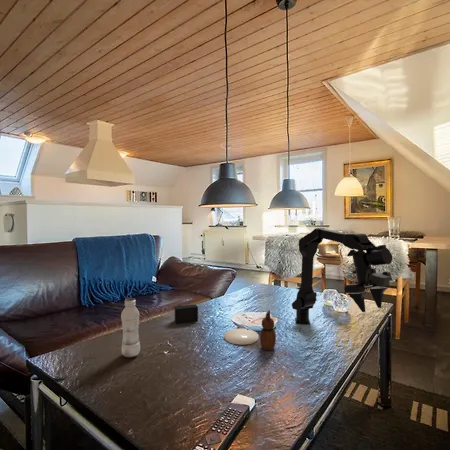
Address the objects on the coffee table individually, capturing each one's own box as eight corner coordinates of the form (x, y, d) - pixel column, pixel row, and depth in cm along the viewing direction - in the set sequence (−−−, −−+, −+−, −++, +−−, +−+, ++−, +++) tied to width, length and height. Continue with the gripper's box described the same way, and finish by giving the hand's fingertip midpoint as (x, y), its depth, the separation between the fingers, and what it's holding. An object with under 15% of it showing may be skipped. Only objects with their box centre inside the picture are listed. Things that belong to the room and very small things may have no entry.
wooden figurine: (275, 353, 107) (275, 312, 106) (259, 351, 108) (259, 311, 108) (275, 344, 114) (276, 306, 113) (260, 343, 115) (260, 305, 114)
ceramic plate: (227, 329, 129) (227, 327, 129) (259, 331, 126) (259, 329, 126) (221, 343, 115) (221, 341, 115) (257, 346, 113) (257, 344, 113)
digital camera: (195, 317, 144) (195, 303, 143) (198, 321, 139) (198, 306, 138) (174, 320, 140) (174, 305, 140) (176, 324, 135) (175, 309, 135)
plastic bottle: (123, 361, 101) (122, 303, 100) (120, 353, 107) (119, 298, 106) (142, 357, 104) (141, 301, 103) (138, 349, 110) (137, 296, 109)
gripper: (366, 267, 98) (376, 315, 96) (398, 262, 108) (408, 306, 105) (339, 270, 108) (347, 314, 105) (371, 265, 117) (379, 305, 115)
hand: (371, 310), depth 107 cm, fingers open, 9 cm apart
